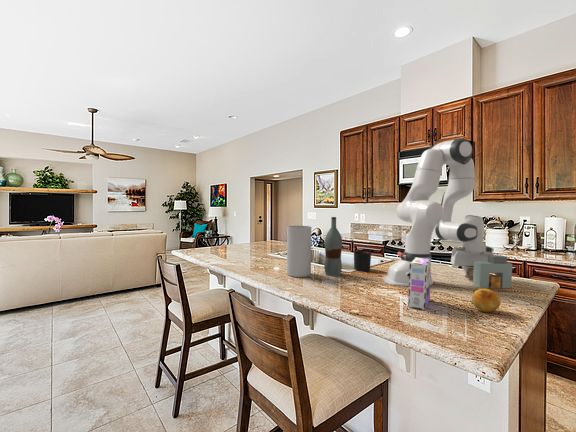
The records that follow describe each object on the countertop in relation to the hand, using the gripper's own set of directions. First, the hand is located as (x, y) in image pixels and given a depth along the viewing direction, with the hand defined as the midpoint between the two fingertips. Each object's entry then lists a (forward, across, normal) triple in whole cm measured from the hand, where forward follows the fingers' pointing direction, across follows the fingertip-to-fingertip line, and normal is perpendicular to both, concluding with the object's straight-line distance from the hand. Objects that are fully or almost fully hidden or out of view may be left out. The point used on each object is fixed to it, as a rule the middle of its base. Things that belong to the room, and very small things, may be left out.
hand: (471, 274), depth 151 cm
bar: (+2, 0, -8) cm, 8 cm away
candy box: (+2, -44, -39) cm, 59 cm away
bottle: (+2, -69, +6) cm, 70 cm away
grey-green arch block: (+2, 0, -15) cm, 15 cm away
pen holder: (+2, -51, +17) cm, 54 cm away
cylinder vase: (+2, -87, +4) cm, 87 cm away
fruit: (+2, -24, -46) cm, 52 cm away
